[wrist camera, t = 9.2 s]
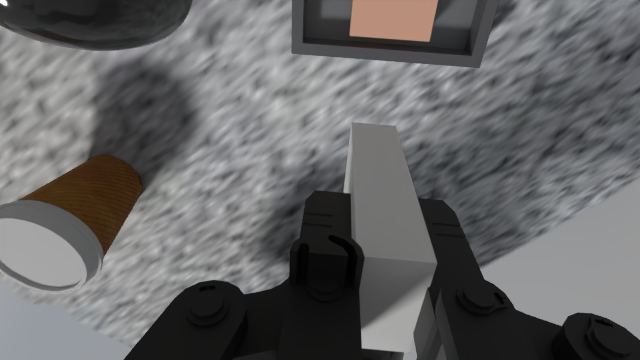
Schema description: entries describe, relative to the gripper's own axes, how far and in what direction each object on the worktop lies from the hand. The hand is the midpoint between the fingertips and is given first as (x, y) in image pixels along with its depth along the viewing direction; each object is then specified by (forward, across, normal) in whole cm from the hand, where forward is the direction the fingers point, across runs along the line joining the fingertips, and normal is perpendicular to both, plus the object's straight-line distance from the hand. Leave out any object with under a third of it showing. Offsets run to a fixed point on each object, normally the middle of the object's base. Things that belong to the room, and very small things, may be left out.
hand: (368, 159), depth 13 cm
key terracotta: (+18, -2, -4) cm, 18 cm away
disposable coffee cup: (+22, +25, +16) cm, 37 cm away
